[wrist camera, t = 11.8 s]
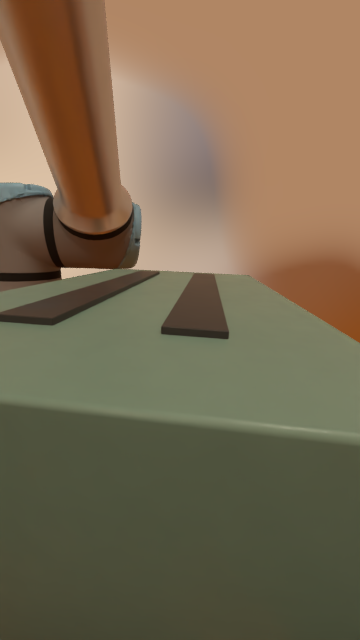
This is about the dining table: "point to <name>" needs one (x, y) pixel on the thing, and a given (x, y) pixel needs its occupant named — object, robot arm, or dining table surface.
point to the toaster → (176, 462)
